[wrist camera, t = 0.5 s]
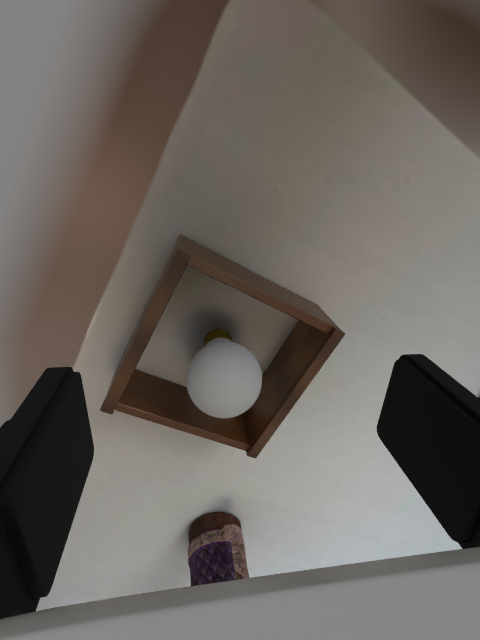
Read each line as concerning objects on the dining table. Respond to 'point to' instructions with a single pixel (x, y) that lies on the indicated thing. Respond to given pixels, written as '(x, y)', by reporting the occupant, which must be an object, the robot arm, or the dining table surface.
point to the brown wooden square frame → (277, 383)
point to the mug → (216, 549)
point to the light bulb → (223, 376)
